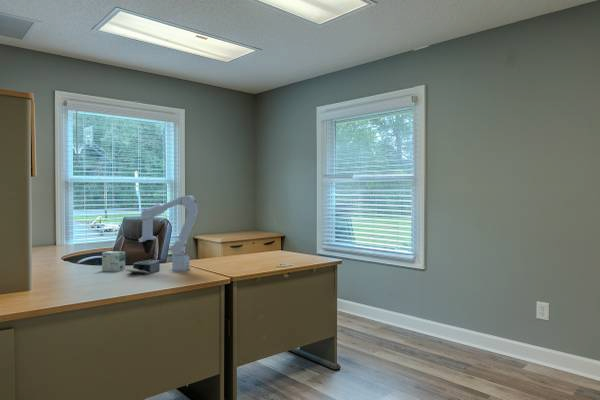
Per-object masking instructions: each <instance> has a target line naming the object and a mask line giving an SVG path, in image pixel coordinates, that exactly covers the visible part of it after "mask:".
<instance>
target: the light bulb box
mask: <svg viewBox="0 0 600 400" xmlns="http://www.w3.org/2000/svg"><path fill="white" fill-rule="evenodd" d="M123 270H126V251H117V250H107V251H102V253H101V272H109V271H111V272H112V271H114V272H121V271H123Z"/></svg>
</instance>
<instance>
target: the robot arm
mask: <svg viewBox="0 0 600 400" xmlns="http://www.w3.org/2000/svg"><path fill="white" fill-rule="evenodd" d="M179 205H180V206H183V207H184V208H185V209H186V211H187V216H186V218H185V220H184V223H183V226H182V227H181V230H180V233H179V235H178V238H177V239H176V240H175V242H174V243H173V245H171V248H170V249H171V250H170V251H171V253H172V255H171V257H172V258H171V261H172V262H171V268H169V270H170V271H182V272H183V271H187V270H188V269H189V270H190V269H191V267H190V265H191V264H190V255H188V254H186V252H185V251H186V249H187V243H188V238H189V235H190V233H191V230H192V229H193V225H194V223H195V220H196V219H197V217H198V214H199V208H198V200H197V199H196V197H195V196H194V195H183V196H179V197H177V198H174V199H173V200H170V201H168V202H166V203H164V204H162V203H156V204H155V205H154V206H151V207H148V209H146V208H145V209H144V210H142V211H141V212H140V217H141V218H142V223H141V225H142V227H141V228H142V230H141V231H142V233H141V237H140V238H138V242H139V243H140V244H142V246H143V251H144V254H150V252H151V249H152V246H153V244H154V240H157V236H156V235H153V233H154V232H153V231H154V228H153V227H154V225H153V224H154V222H153V219H154V218H155V217H157V216H159V215H162V214H164V213H165V212H166V210H169V209H170V208H173V207H175V206H179Z"/></svg>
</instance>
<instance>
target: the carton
mask: <svg viewBox="0 0 600 400" xmlns="http://www.w3.org/2000/svg"><path fill="white" fill-rule="evenodd" d="M160 263H161V262H160V261H154V260H152V261H151V260H141V261H137V262H133V263H132V268H134V269H138V270H145V271H148V272H150V273H149V274H153V273H156V272H159V271H160V268H161V267H160Z"/></svg>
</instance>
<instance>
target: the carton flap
mask: <svg viewBox="0 0 600 400" xmlns="http://www.w3.org/2000/svg"><path fill="white" fill-rule="evenodd" d="M125 270H126V271H127V272H129V273H134V274H151V273H150V272H148V271H145V270H138V269H134V268H133V267H128V268H127V269H125Z"/></svg>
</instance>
